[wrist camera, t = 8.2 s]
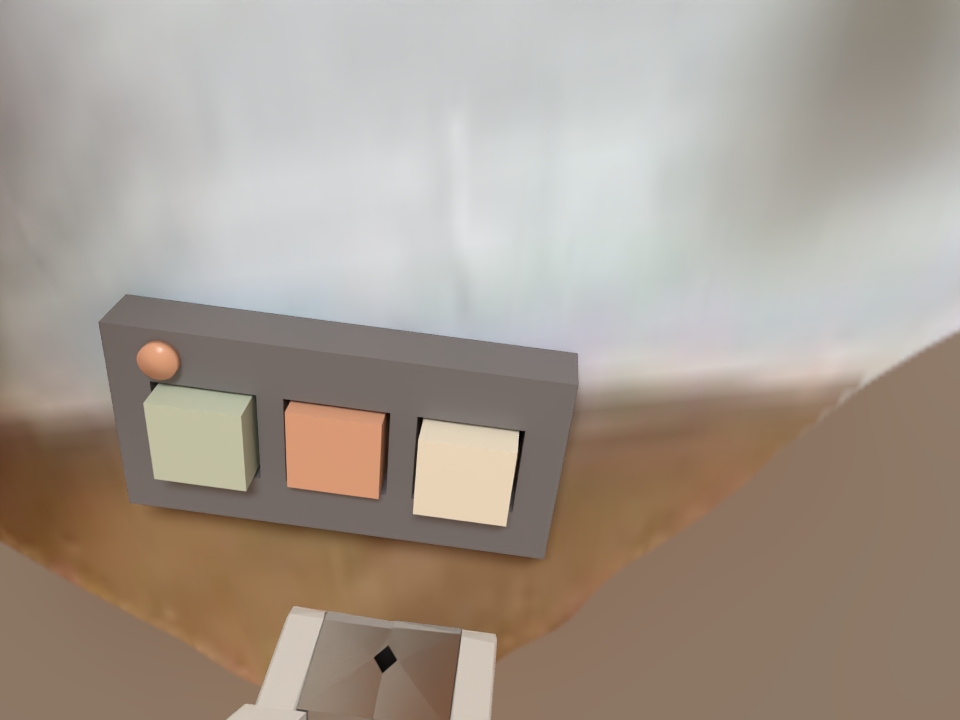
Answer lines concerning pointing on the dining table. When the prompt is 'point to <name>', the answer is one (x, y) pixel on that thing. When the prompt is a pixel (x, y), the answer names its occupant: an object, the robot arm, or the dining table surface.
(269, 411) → the button panel
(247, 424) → the sage button
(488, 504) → the cream button
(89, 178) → the dining table surface
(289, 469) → the terracotta button
